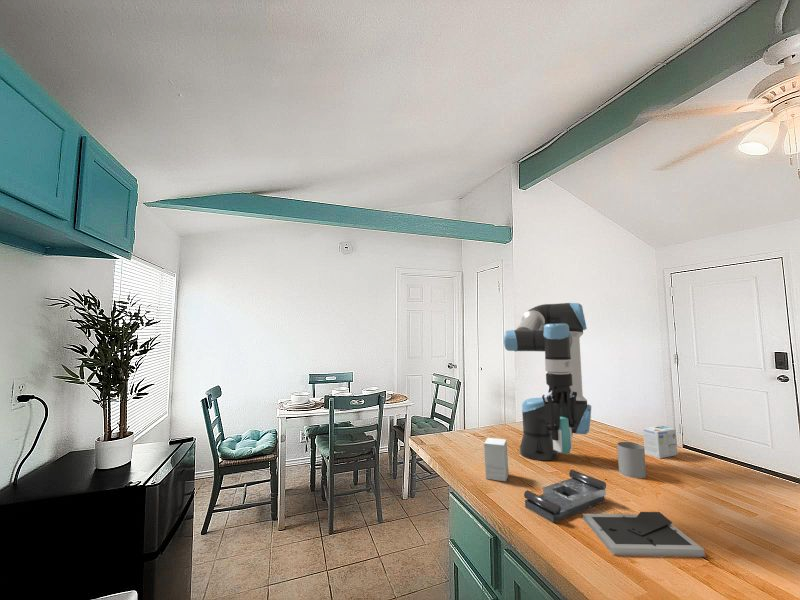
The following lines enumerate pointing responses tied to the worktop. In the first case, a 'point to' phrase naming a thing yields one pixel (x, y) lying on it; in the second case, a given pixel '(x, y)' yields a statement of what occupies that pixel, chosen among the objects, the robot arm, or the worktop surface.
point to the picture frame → (642, 535)
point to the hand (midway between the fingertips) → (562, 449)
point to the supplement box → (496, 459)
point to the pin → (565, 435)
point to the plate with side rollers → (567, 497)
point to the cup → (631, 459)
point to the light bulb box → (660, 441)
